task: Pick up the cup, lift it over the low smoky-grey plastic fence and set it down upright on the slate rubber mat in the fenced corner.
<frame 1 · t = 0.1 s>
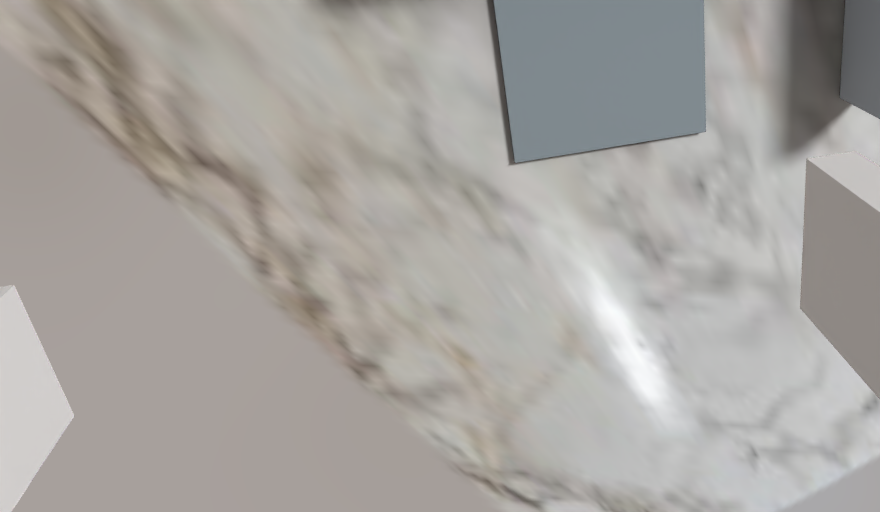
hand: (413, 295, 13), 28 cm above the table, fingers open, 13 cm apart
mat: (601, 50, 39), on the table
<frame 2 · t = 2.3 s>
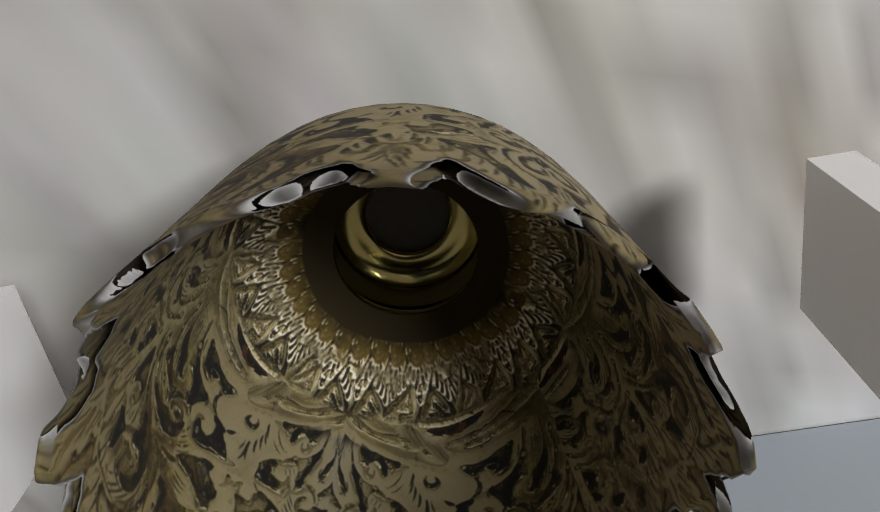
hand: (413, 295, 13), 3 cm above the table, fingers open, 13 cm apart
cup: (408, 209, 15), on the table
fence: (506, 491, 19), resting in mat
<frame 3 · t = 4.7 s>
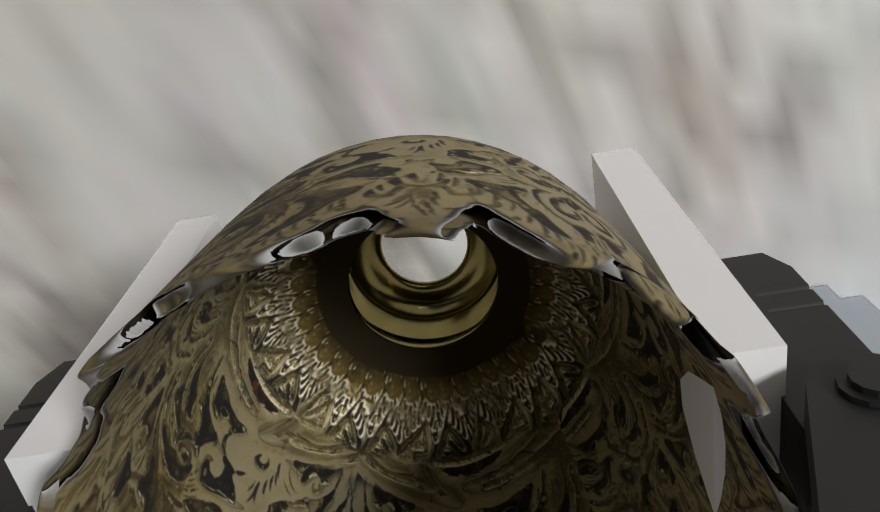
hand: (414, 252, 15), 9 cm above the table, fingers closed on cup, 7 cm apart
cup: (424, 238, 15), point 9 cm above the table, touching gripper
fence: (496, 348, 26), resting in mat
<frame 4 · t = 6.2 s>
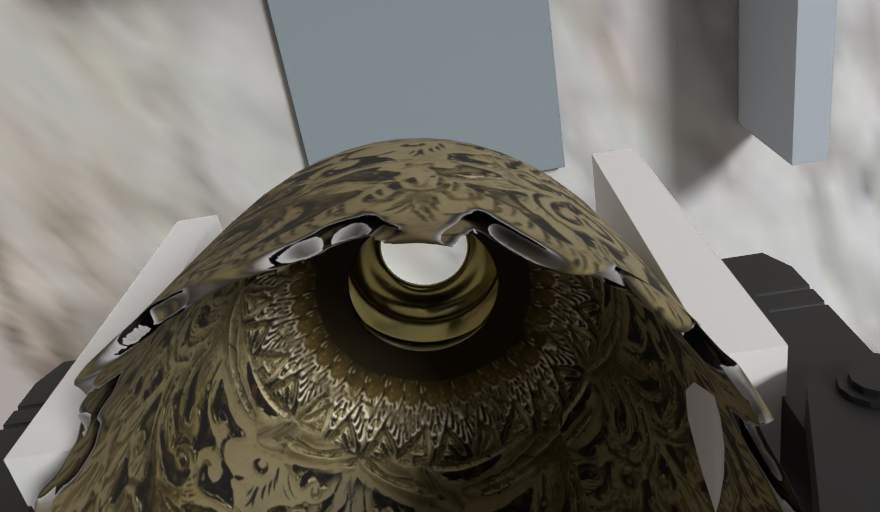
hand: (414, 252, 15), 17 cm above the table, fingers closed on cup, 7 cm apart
cup: (424, 241, 15), point 16 cm above the table, touching gripper
mat: (419, 61, 29), on the table
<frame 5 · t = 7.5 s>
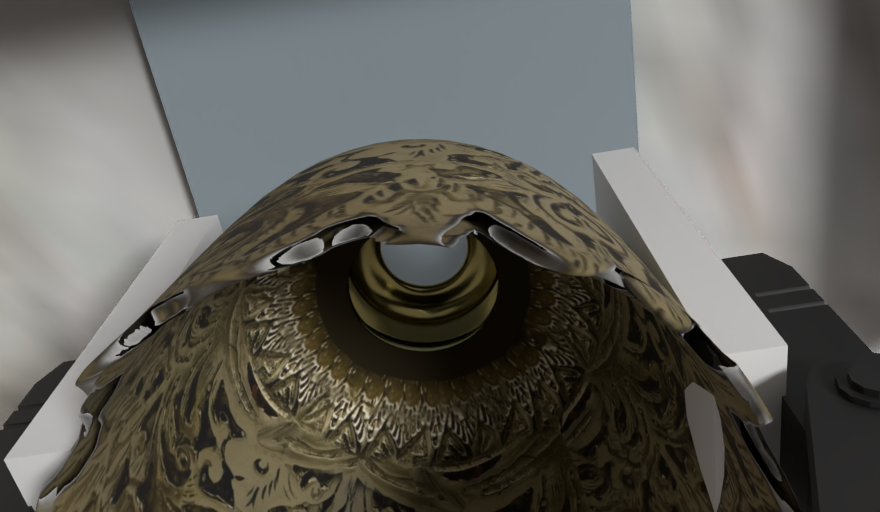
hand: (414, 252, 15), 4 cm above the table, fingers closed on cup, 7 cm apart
cup: (424, 241, 15), point 3 cm above the table, touching gripper
mat: (416, 182, 18), on the table
when the fingers open (1 cm above the table, at t = 8.4 s): cup moves 3 cm, resting on mat.
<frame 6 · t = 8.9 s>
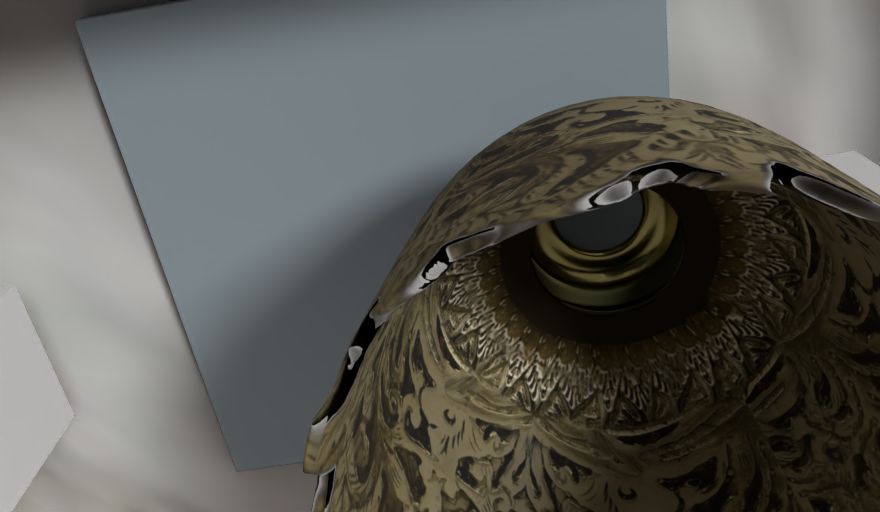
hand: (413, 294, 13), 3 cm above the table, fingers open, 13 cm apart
cup: (596, 205, 15), resting on mat, touching gripper
mat: (415, 230, 15), on the table
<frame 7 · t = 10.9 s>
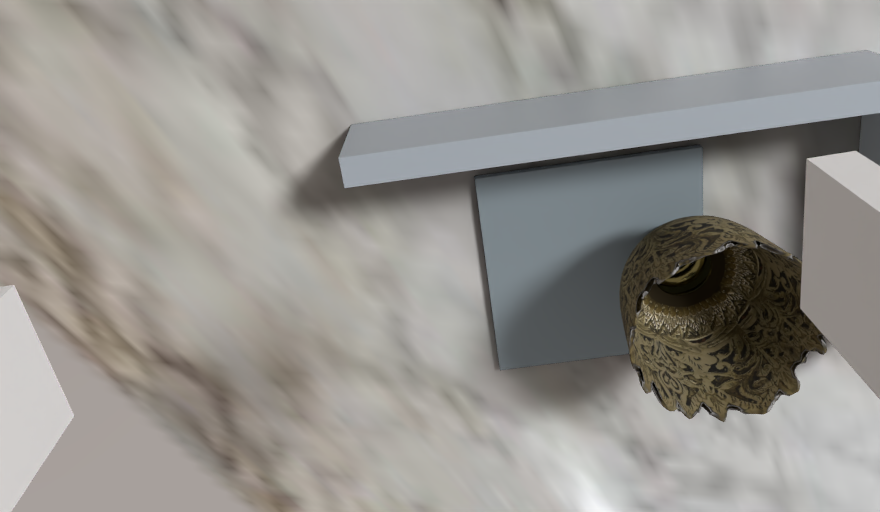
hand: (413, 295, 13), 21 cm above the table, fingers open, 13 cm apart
cup: (670, 251, 36), resting on mat
mat: (593, 262, 36), on the table
fence: (605, 101, 33), resting in mat
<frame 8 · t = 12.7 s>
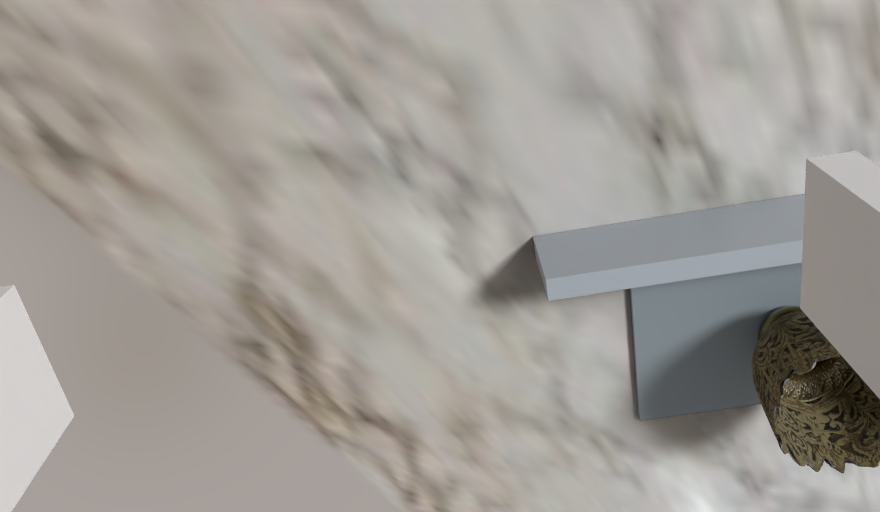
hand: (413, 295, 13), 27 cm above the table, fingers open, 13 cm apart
cup: (783, 326, 44), resting on mat
mat: (720, 335, 45), on the table
fence: (737, 214, 42), resting in mat
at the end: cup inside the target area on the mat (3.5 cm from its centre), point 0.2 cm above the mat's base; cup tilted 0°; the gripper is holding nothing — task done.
